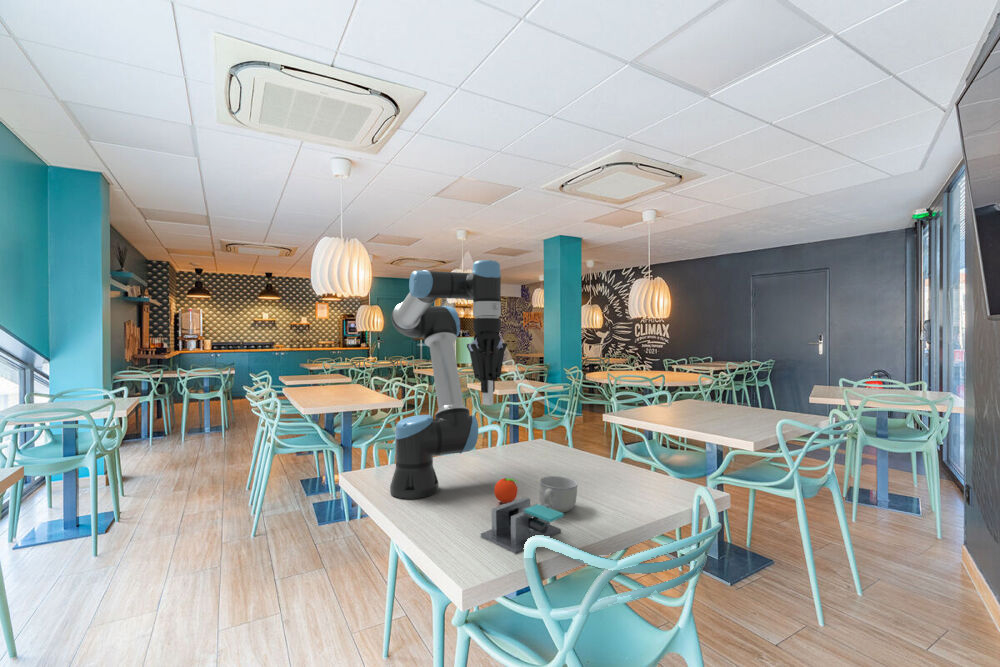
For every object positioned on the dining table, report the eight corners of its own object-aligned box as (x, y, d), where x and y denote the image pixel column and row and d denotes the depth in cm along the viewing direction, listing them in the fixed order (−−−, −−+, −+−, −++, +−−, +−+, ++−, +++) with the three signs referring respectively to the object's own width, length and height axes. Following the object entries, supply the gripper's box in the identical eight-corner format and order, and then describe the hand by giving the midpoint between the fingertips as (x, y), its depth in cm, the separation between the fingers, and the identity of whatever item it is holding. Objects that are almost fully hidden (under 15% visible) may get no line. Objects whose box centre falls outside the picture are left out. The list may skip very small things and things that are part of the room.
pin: (499, 524, 115) (498, 506, 115) (511, 519, 118) (511, 502, 119) (538, 540, 106) (538, 521, 106) (550, 534, 109) (550, 516, 109)
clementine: (520, 497, 139) (520, 474, 139) (522, 506, 132) (522, 481, 132) (493, 498, 138) (493, 474, 138) (494, 507, 131) (494, 482, 131)
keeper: (522, 511, 109) (522, 508, 109) (536, 506, 113) (536, 503, 113) (550, 522, 103) (550, 519, 103) (563, 516, 106) (563, 513, 106)
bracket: (480, 536, 112) (480, 509, 112) (525, 518, 123) (525, 493, 123) (515, 553, 103) (515, 523, 103) (560, 532, 114) (560, 504, 114)
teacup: (552, 499, 137) (552, 472, 137) (584, 507, 130) (584, 479, 130) (525, 513, 126) (524, 484, 126) (558, 523, 119) (558, 492, 119)
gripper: (477, 316, 118) (478, 408, 117) (513, 317, 127) (514, 403, 126) (459, 317, 123) (460, 405, 123) (495, 318, 132) (496, 400, 132)
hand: (488, 404), depth 125 cm, fingers closed
